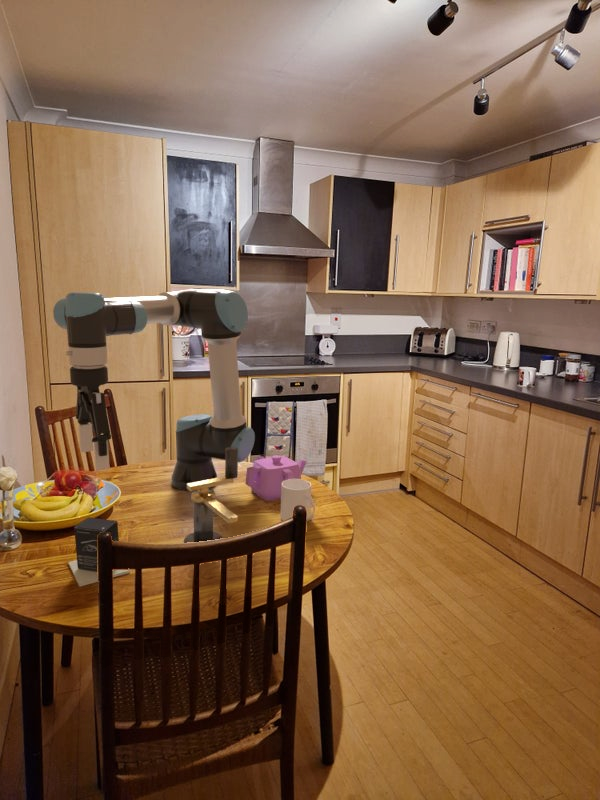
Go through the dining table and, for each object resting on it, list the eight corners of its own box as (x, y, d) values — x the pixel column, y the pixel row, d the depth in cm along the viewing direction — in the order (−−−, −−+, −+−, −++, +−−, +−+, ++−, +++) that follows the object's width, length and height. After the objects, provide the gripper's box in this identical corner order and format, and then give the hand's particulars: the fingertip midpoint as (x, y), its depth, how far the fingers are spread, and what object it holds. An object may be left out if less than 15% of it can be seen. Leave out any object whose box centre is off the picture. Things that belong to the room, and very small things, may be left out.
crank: (217, 526, 117) (217, 476, 114) (183, 497, 132) (183, 452, 129) (268, 513, 125) (269, 466, 122) (231, 487, 140) (231, 445, 137)
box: (120, 562, 122) (119, 520, 120) (107, 574, 117) (105, 530, 115) (90, 557, 124) (88, 515, 122) (76, 569, 119) (73, 526, 116)
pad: (68, 564, 122) (68, 562, 122) (116, 552, 128) (116, 550, 128) (79, 586, 113) (79, 584, 113) (129, 572, 119) (129, 570, 119)
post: (177, 539, 136) (177, 496, 133) (212, 530, 141) (212, 489, 139) (193, 555, 128) (193, 510, 125) (229, 545, 133) (229, 502, 131)
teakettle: (243, 499, 163) (243, 461, 160) (258, 480, 179) (259, 446, 177) (295, 505, 160) (296, 467, 157) (306, 485, 176) (307, 451, 173)
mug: (302, 532, 142) (303, 496, 140) (274, 517, 151) (275, 482, 148) (324, 523, 148) (326, 488, 146) (296, 509, 156) (297, 476, 154)
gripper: (58, 358, 118) (64, 447, 123) (84, 376, 98) (90, 481, 103) (92, 357, 122) (97, 442, 127) (123, 373, 103) (128, 474, 107)
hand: (94, 460), depth 115 cm, fingers open, 13 cm apart
